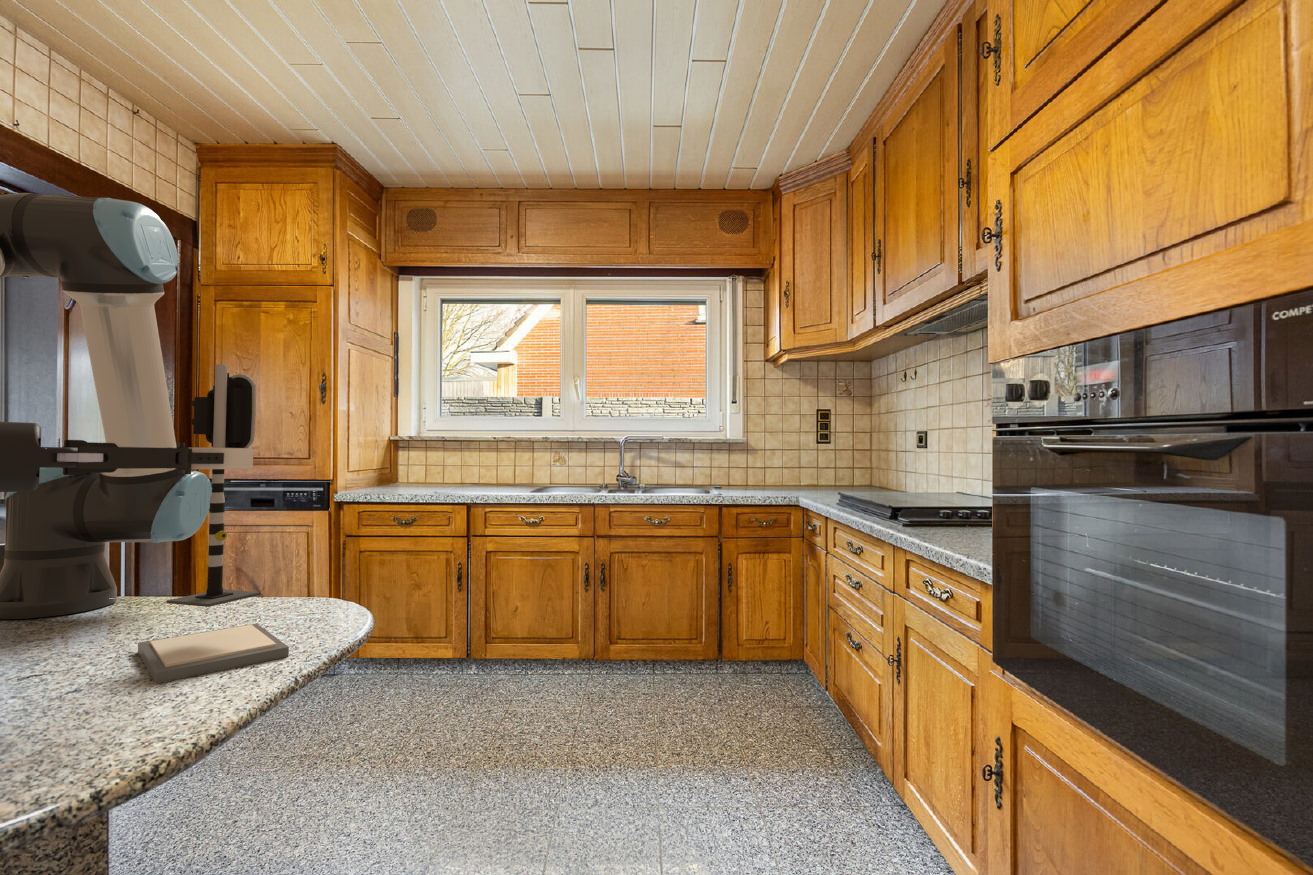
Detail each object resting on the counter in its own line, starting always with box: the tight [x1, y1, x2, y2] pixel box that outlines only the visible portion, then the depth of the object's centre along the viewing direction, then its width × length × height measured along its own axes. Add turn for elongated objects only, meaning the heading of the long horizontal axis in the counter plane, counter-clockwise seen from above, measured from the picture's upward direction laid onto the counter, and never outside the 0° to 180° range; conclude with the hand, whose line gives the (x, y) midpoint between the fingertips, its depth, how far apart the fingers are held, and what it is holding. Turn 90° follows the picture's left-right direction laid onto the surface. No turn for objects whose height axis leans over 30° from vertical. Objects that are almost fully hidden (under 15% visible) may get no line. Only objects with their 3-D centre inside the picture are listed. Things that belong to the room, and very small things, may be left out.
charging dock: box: [137, 622, 290, 685], centre depth 77 cm, size 15×13×2 cm
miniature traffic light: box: [165, 363, 261, 608], centre depth 78 cm, size 8×8×30 cm
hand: (248, 458), depth 81 cm, fingers closed on miniature traffic light, 2 cm apart
